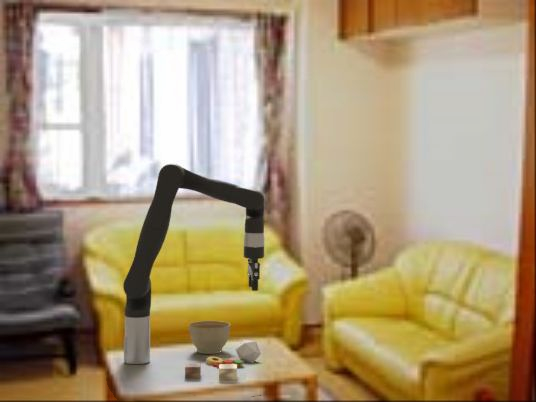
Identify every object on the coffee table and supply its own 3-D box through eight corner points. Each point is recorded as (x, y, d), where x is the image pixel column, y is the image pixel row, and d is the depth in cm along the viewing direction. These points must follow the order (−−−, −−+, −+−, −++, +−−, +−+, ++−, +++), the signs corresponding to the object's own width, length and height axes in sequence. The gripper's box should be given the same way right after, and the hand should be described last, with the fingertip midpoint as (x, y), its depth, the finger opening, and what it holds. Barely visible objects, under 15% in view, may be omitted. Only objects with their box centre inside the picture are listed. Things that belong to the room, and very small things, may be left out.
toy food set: (203, 365, 312) (203, 356, 312) (237, 362, 317) (237, 353, 316) (214, 373, 299) (214, 364, 299) (249, 370, 304) (249, 361, 304)
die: (264, 362, 318) (255, 339, 322) (262, 355, 310) (252, 332, 315) (243, 370, 317) (234, 347, 322) (241, 364, 310) (232, 340, 314)
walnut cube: (185, 381, 288) (185, 367, 288) (186, 377, 293) (186, 363, 293) (199, 381, 288) (199, 367, 288) (200, 377, 293) (200, 363, 293)
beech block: (218, 380, 286) (218, 368, 286) (219, 375, 292) (219, 364, 292) (236, 380, 286) (236, 368, 286) (236, 375, 292) (236, 364, 292)
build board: (209, 385, 283) (209, 382, 283) (210, 376, 295) (210, 373, 295) (245, 385, 283) (245, 382, 283) (245, 376, 295) (245, 373, 295)
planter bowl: (238, 351, 332) (238, 324, 331) (208, 358, 320) (208, 330, 320) (210, 345, 343) (210, 318, 343) (180, 351, 331) (180, 324, 331)
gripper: (241, 242, 319) (240, 285, 319) (246, 247, 305) (245, 292, 305) (261, 242, 320) (260, 285, 321) (267, 247, 306) (266, 291, 307)
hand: (253, 288), depth 313 cm, fingers open, 8 cm apart
